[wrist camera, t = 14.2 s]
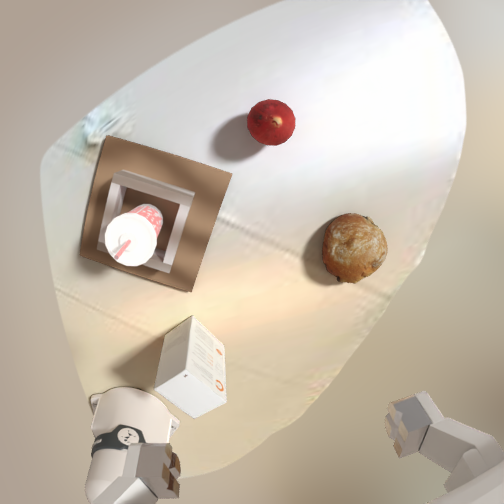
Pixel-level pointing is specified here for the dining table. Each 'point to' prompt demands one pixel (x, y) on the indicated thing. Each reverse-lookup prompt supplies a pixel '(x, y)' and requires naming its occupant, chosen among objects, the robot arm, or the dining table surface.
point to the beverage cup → (134, 235)
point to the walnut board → (164, 199)
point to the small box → (192, 369)
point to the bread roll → (353, 248)
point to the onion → (271, 122)
